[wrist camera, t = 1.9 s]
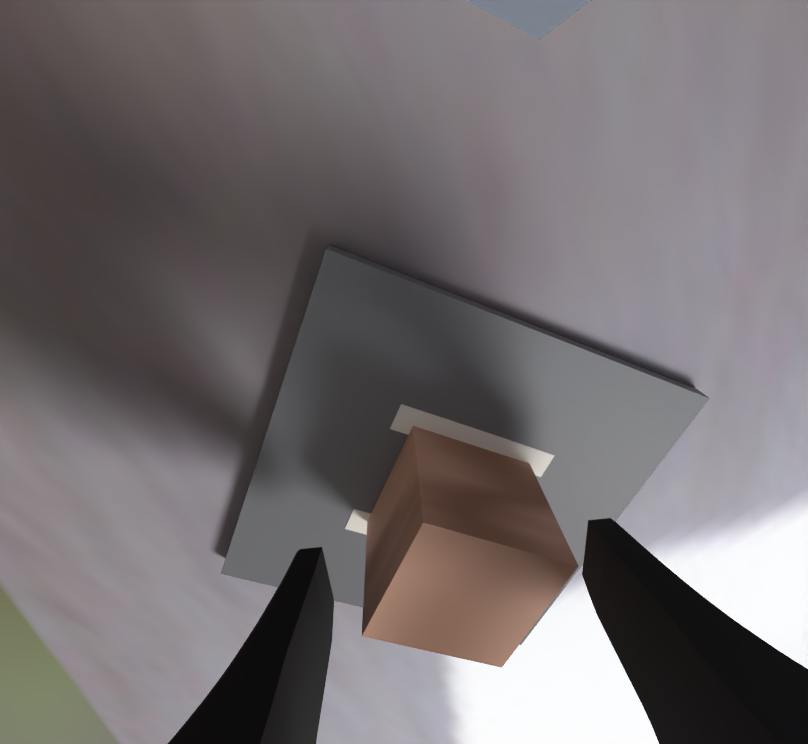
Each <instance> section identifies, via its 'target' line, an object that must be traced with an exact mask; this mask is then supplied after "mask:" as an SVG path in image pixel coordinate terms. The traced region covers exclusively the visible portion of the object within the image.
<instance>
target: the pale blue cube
mask: <svg viewBox="0 0 808 744" xmlns="http://www.w3.org/2000/svg"><path fill="white" fill-rule="evenodd" d="M465 1H467V2H469V3H471V4H473V5H475V6H477V7H479V8H481V9H482V10H484V11H486V12H488V13H490V14H492V15H494V16H496V17H497V18H499V19H501V20H503V21H505V22H507V23H509V24H511V25H512V26H514V27H516V28H518V29H520V30H522V31H524V32H526V33H528V34H529V35H531V36H533V37H535V38H537V39H539V40H540V39H542V38H543V37H544V36H545V35H547V34H548V33H549V32H551V31H552V30H553V29H554V28H556V27H557V26H558V25H560V24H561V23H562V22H564V21H565V20H566V19H567V18H569V17H570V16H571V15H573V14H574V13H575V12H576V11H578V10H579V9H580V8H582V7H583V6H584V5H586V4H587V3H588V2H589V1H591V0H465Z"/></svg>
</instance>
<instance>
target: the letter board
mask: <svg viewBox="0 0 808 744" xmlns="http://www.w3.org/2000/svg"><path fill="white" fill-rule="evenodd" d="M709 399H710V398H708V397H707V396H706V395H704V394H703V393H702V392H700V391H699V390H697V389H695V388H693V387H690V386H688V385H685V384H682V383H680V382H677V381H675V380H672V379H670V378H667V377H665V376H662V375H660V374H657V373H654V372H652V371H649V370H647V369H644V368H642V367H639V366H637V365H634V364H632V363H629V362H626V361H624V360H621V359H619V358H616V357H614V356H611V355H609V354H606V353H604V352H601V351H598V350H596V349H593V348H591V347H588V346H586V345H583V344H581V343H578V342H576V341H573V340H570V339H568V338H565V337H563V336H560V335H558V334H555V333H553V332H550V331H548V330H545V329H542V328H540V327H537V326H535V325H532V324H530V323H527V322H525V321H522V320H520V319H517V318H514V317H512V316H509V315H507V314H504V313H502V312H499V311H497V310H494V309H492V308H489V307H486V306H484V305H481V304H479V303H476V302H474V301H471V300H469V299H466V298H464V297H461V296H458V295H456V294H453V293H451V292H448V291H446V290H443V289H441V288H438V287H436V286H433V285H430V284H428V283H425V282H423V281H420V280H418V279H415V278H413V277H410V276H408V275H405V274H402V273H400V272H397V271H395V270H392V269H390V268H387V267H385V266H382V265H380V264H377V263H374V262H372V261H369V260H367V259H364V258H362V257H359V256H357V255H354V254H352V253H349V252H346V251H344V250H341V249H339V248H336V247H334V246H331V245H328V246H327V248H326V250H325V253H324V256H323V259H322V263H321V266H320V269H319V272H318V275H317V278H316V281H315V284H314V287H313V290H312V293H311V296H310V300H309V303H308V306H307V309H306V312H305V315H304V318H303V321H302V324H301V327H300V330H299V334H298V337H297V340H296V343H295V346H294V349H293V352H292V355H291V358H290V361H289V364H288V368H287V371H286V374H285V377H284V380H283V383H282V386H281V389H280V392H279V395H278V398H277V402H276V405H275V408H274V411H273V414H272V417H271V420H270V423H269V426H268V429H267V432H266V435H265V439H264V442H263V445H262V448H261V451H260V454H259V457H258V460H257V463H256V466H255V469H254V473H253V476H252V479H251V482H250V485H249V488H248V491H247V494H246V497H245V500H244V503H243V507H242V510H241V513H240V516H239V519H238V522H237V525H236V528H235V531H234V534H233V537H232V541H231V544H230V547H229V550H228V553H227V556H226V559H225V562H224V565H223V568H222V571H221V574H224V575H229V576H233V577H237V578H241V579H246V580H250V581H254V582H258V583H262V584H267V585H271V586H275V587H279V585H280V583H281V581H282V579H283V578H284V576H285V574H286V572H287V570H288V568H289V566H290V564H291V562H292V560H293V558H294V556H295V554H296V552H297V551H298V550H299V549H305V548H315V547H322V549H323V553H324V558H325V562H326V567H327V571H328V575H329V580H330V584H331V589H332V593H333V597H334V601H338V602H343V603H347V604H351V605H355V606H360V607H363V601H364V580H365V559H366V538H367V521H368V519H369V517H370V515H371V513H372V511H373V509H374V507H375V505H376V502H377V500H378V498H379V496H380V494H381V492H382V490H383V488H384V486H385V483H386V481H387V479H388V477H389V475H390V473H391V471H392V469H393V467H394V465H395V462H396V460H397V458H398V456H399V454H400V452H401V450H402V448H403V446H404V444H405V441H406V439H407V437H408V435H409V433H410V431H411V429H412V427H413V426H416V427H419V428H422V429H425V430H428V431H431V432H434V433H437V434H440V435H443V436H446V437H449V438H452V439H456V440H459V441H462V442H465V443H468V444H471V445H474V446H477V447H480V448H483V449H486V450H489V451H492V452H496V453H499V454H502V455H505V456H508V457H511V458H514V459H517V460H520V461H523V462H526V463H529V464H530V465H531V467H532V470H533V472H534V474H535V476H536V478H537V480H538V482H539V484H540V486H541V488H542V490H543V493H544V495H545V497H546V499H547V501H548V503H549V505H550V507H551V509H552V511H553V514H554V516H555V518H556V520H557V522H558V524H559V526H560V528H561V530H562V532H563V535H564V537H565V539H566V541H567V543H568V545H569V547H570V549H571V551H572V553H573V556H574V558H575V560H576V562H577V564H578V566H579V567H578V568H577V569H576V570H575V572H574V573H573V574H572V576H571V577H570V578H569V580H568V581H567V582H566V584H565V585H564V586H563V588H562V589H561V590H560V591H559V593H558V594H557V595H556V597H555V598H554V599H553V601H552V602H551V603H550V605H549V606H548V607H547V609H546V610H545V611H544V612H543V614H542V615H541V616H540V618H539V619H538V620H537V622H536V623H535V624H534V626H533V627H532V628H531V630H530V631H529V632H528V633H527V635H526V636H525V637H524V639H523V640H522V641H521V643H520V645H521V644H522V643H523V642H524V640H525V639H526V638H527V636H528V635H529V634H530V632H531V631H532V630H533V629H534V627H535V626H536V625H537V623H538V622H539V621H540V619H541V618H542V617H543V615H544V614H545V613H546V612H547V610H548V609H549V608H550V606H551V605H552V604H553V602H554V601H555V600H556V598H557V597H558V596H559V595H560V593H561V592H562V591H563V589H564V588H565V587H566V585H567V584H568V583H569V581H570V580H571V579H572V578H573V576H574V575H575V574H576V572H577V571H578V570H579V568H580V567H581V566H582V564H583V563H584V554H585V545H586V535H587V526H588V520H595V519H605V518H611V519H613V520H614V521H616V520H617V519H618V517H619V516H620V515H621V514H622V512H623V511H624V510H625V508H626V507H627V506H628V504H629V503H630V502H631V500H632V499H633V498H634V497H635V495H636V494H637V493H638V491H639V490H640V489H641V487H642V486H643V485H644V483H645V482H646V481H647V480H648V478H649V477H650V476H651V474H652V473H653V472H654V470H655V469H656V468H657V467H658V465H659V464H660V463H661V461H662V460H663V459H664V457H665V456H666V455H667V453H668V452H669V451H670V450H671V448H672V447H673V446H674V444H675V443H676V442H677V440H678V439H679V438H680V436H681V435H682V434H683V433H684V431H685V430H686V429H687V427H688V426H689V425H690V423H691V422H692V421H693V419H694V418H695V417H696V416H697V414H698V413H699V412H700V410H701V409H702V408H703V406H704V405H705V404H706V402H707V401H708V400H709Z"/></svg>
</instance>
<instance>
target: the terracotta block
mask: <svg viewBox="0 0 808 744" xmlns="http://www.w3.org/2000/svg"><path fill="white" fill-rule="evenodd" d="M578 567H579V566H578V564H577V562H576V560H575V558H574V556H573V553H572V551H571V549H570V547H569V545H568V543H567V541H566V539H565V537H564V535H563V532H562V530H561V528H560V526H559V524H558V522H557V520H556V518H555V516H554V514H553V511H552V509H551V507H550V505H549V503H548V501H547V499H546V497H545V495H544V493H543V490H542V488H541V486H540V484H539V482H538V480H537V478H536V476H535V474H534V472H533V470H532V467H531V465H530V464H529V463H526V462H523V461H520V460H517V459H514V458H511V457H508V456H505V455H502V454H499V453H496V452H492V451H489V450H486V449H483V448H480V447H477V446H474V445H471V444H468V443H465V442H462V441H459V440H456V439H452V438H449V437H446V436H443V435H440V434H437V433H434V432H431V431H428V430H425V429H422V428H419V427H416V426H413V427H412V429H411V431H410V433H409V435H408V437H407V439H406V441H405V444H404V446H403V448H402V450H401V452H400V454H399V456H398V458H397V460H396V462H395V465H394V467H393V469H392V471H391V473H390V475H389V477H388V479H387V481H386V483H385V486H384V488H383V490H382V492H381V494H380V496H379V498H378V500H377V502H376V505H375V507H374V509H373V511H372V513H371V515H370V517H369V519H368V521H367V538H366V559H365V580H364V601H363V622H362V636H364V637H368V638H373V639H377V640H382V641H386V642H391V643H395V644H400V645H404V646H409V647H413V648H417V649H422V650H426V651H431V652H435V653H440V654H444V655H449V656H453V657H458V658H462V659H467V660H471V661H476V662H480V663H485V664H489V665H493V666H498V667H502V666H503V665H504V664H505V662H506V661H507V660H508V658H509V657H510V656H511V654H512V653H513V652H514V650H515V649H516V648H517V647H518V645H519V644H520V643H521V641H522V640H523V639H524V637H525V636H526V635H527V633H528V632H529V631H530V630H531V628H532V627H533V626H534V624H535V623H536V622H537V620H538V619H539V618H540V616H541V615H542V614H543V612H544V611H545V610H546V609H547V607H548V606H549V605H550V603H551V602H552V601H553V599H554V598H555V597H556V595H557V594H558V593H559V591H560V590H561V589H562V588H563V586H564V585H565V584H566V582H567V581H568V580H569V578H570V577H571V576H572V574H573V573H574V572H575V570H576V569H577V568H578Z"/></svg>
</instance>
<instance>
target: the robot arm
mask: <svg viewBox="0 0 808 744" xmlns="http://www.w3.org/2000/svg"><path fill="white" fill-rule="evenodd" d="M582 575H583V578H584V581H585V584H586V586H587V589H588V592H589V595H590V597H591V600H592V603H593V605H594V608H595V610H596V613H597V615H598V617H599V619H600V621H601V623H602V625H603V627H604V629H605V631H606V633H607V635H608V637H609V639H610V641H611V643H612V645H613V647H614V649H615V651H616V653H617V655H618V657H619V659H620V661H621V663H622V665H623V667H624V669H625V671H626V673H627V675H628V677H629V679H630V681H631V683H632V685H633V687H634V689H635V691H636V693H637V695H638V697H639V699H640V701H641V703H642V705H643V707H644V709H645V711H646V713H647V716H648V718H649V720H650V722H651V724H652V727H653V729H654V731H655V734H656V736H657V739H658V741H659V744H808V669H807V668H805V667H803V666H802V665H800V664H798V663H797V662H795V661H794V660H792V659H791V658H789V657H787V656H786V655H784V654H783V653H781V652H780V651H778V650H777V649H775V648H774V647H772V646H771V645H769V644H768V643H766V642H765V641H763V640H762V639H760V638H759V637H757V636H756V635H754V634H753V633H752V632H750V631H749V630H747V629H746V628H744V627H743V626H741V625H740V624H739V623H737V622H736V621H734V620H733V619H732V618H730V617H729V616H728V615H726V614H725V613H724V612H722V611H721V610H720V609H718V608H717V607H716V606H714V605H713V604H712V603H710V602H709V601H708V600H706V599H705V598H704V597H703V596H701V595H700V594H699V593H698V592H696V591H695V590H694V589H693V588H691V587H690V586H689V585H688V584H686V583H685V582H684V581H683V580H682V579H680V578H679V577H678V576H677V575H676V574H674V573H673V572H672V571H671V570H670V569H668V568H667V567H666V566H665V565H664V564H663V563H661V562H660V561H659V560H658V559H657V558H656V557H654V556H653V555H652V554H651V553H650V552H649V551H648V550H646V549H645V548H644V547H643V546H642V545H641V544H640V543H639V542H637V541H636V540H635V539H634V538H633V537H632V536H631V535H630V534H628V533H627V532H626V531H625V530H624V529H623V528H622V527H621V526H619V525H618V524H617V523H616V522H615V521H614V520H613V519H611V518H605V519H595V520H588V526H587V535H586V545H585V554H584V563H583V572H582ZM333 609H334V597H333V593H332V589H331V584H330V580H329V575H328V571H327V567H326V562H325V558H324V553H323V549H322V547H315V548H305V549H299V550H298V551H297V552H296V554H295V556H294V558H293V560H292V562H291V564H290V566H289V568H288V570H287V572H286V574H285V576H284V578H283V579H282V581H281V583H280V585H279V587H278V589H277V590H276V592H275V594H274V596H273V597H272V599H271V601H270V603H269V604H268V606H267V608H266V609H265V611H264V613H263V614H262V616H261V618H260V619H259V621H258V623H257V624H256V626H255V628H254V629H253V631H252V632H251V634H250V635H249V637H248V638H247V640H246V641H245V643H244V644H243V646H242V647H241V649H240V650H239V652H238V653H237V655H236V656H235V658H234V659H233V661H232V662H231V664H230V665H229V667H228V668H227V669H226V671H225V672H224V674H223V675H222V676H221V678H220V679H219V681H218V682H217V683H216V685H215V686H214V687H213V689H212V690H211V691H210V693H209V694H208V695H207V696H206V698H205V699H204V700H203V702H202V703H201V704H200V705H199V707H198V708H197V709H196V710H195V712H194V713H193V714H192V715H191V717H190V718H189V719H188V720H187V721H186V723H185V724H184V725H183V726H182V728H181V729H180V730H179V731H178V732H177V734H176V735H175V736H174V737H173V738H172V740H171V741H170V742H169V743H168V744H316V739H317V732H318V725H319V719H320V713H321V706H322V700H323V694H324V687H325V681H326V675H327V668H328V662H329V655H330V649H331V642H332V628H333Z"/></svg>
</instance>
